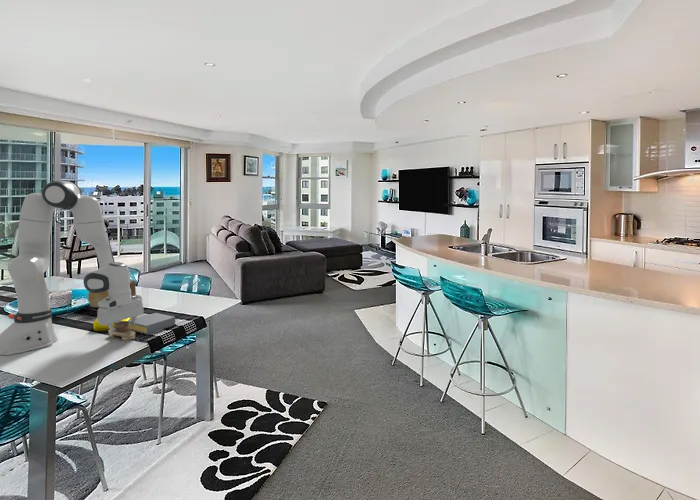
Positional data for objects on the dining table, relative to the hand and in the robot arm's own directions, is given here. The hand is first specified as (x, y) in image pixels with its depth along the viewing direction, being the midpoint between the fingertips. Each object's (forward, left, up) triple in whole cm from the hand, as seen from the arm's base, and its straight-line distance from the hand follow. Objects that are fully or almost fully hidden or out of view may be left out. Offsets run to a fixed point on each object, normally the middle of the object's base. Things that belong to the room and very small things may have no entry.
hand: (122, 329), depth 198 cm
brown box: (-1, 0, -1) cm, 1 cm away
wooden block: (+20, +25, -4) cm, 33 cm away
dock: (+15, +1, -4) cm, 16 cm away
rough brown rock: (+27, +49, -4) cm, 56 cm away
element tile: (+8, +19, -4) cm, 21 cm away
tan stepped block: (-1, 0, -4) cm, 4 cm away
